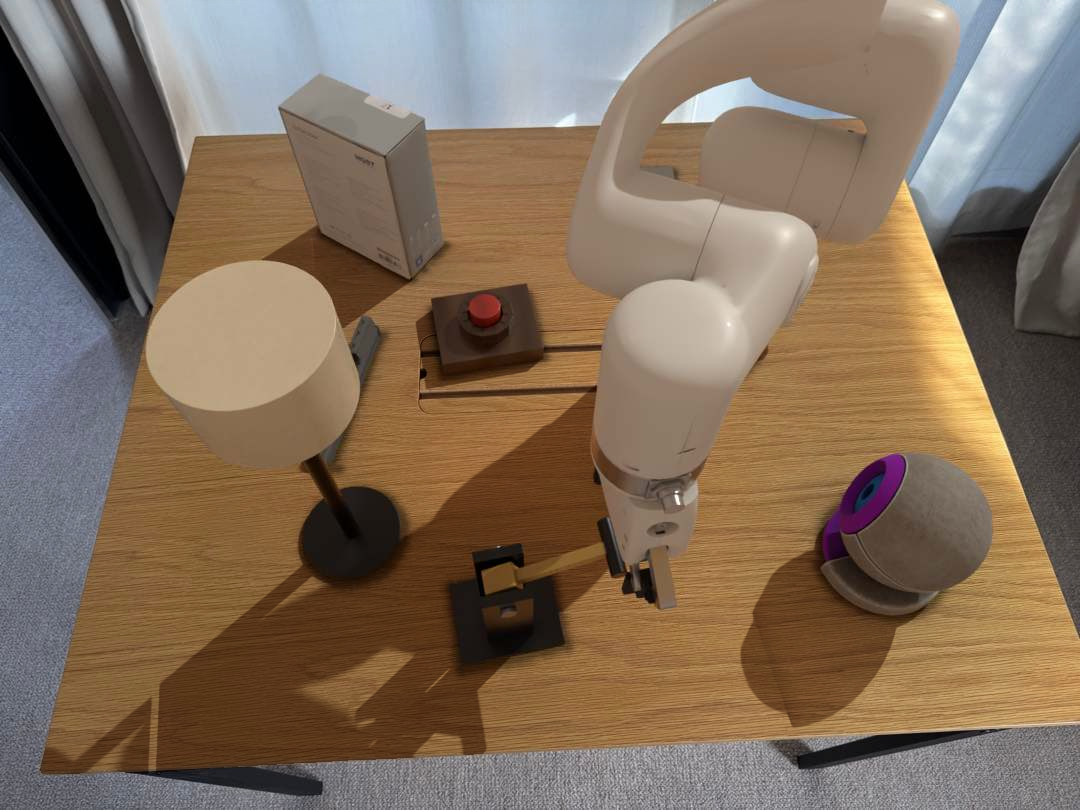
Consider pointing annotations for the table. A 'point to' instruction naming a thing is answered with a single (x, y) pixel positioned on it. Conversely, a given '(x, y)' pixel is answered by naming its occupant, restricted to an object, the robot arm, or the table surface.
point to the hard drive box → (366, 172)
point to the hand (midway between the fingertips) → (625, 531)
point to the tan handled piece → (557, 563)
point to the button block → (487, 331)
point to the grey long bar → (358, 364)
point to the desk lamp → (273, 394)
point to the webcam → (906, 533)
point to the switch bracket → (504, 612)
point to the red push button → (484, 310)
